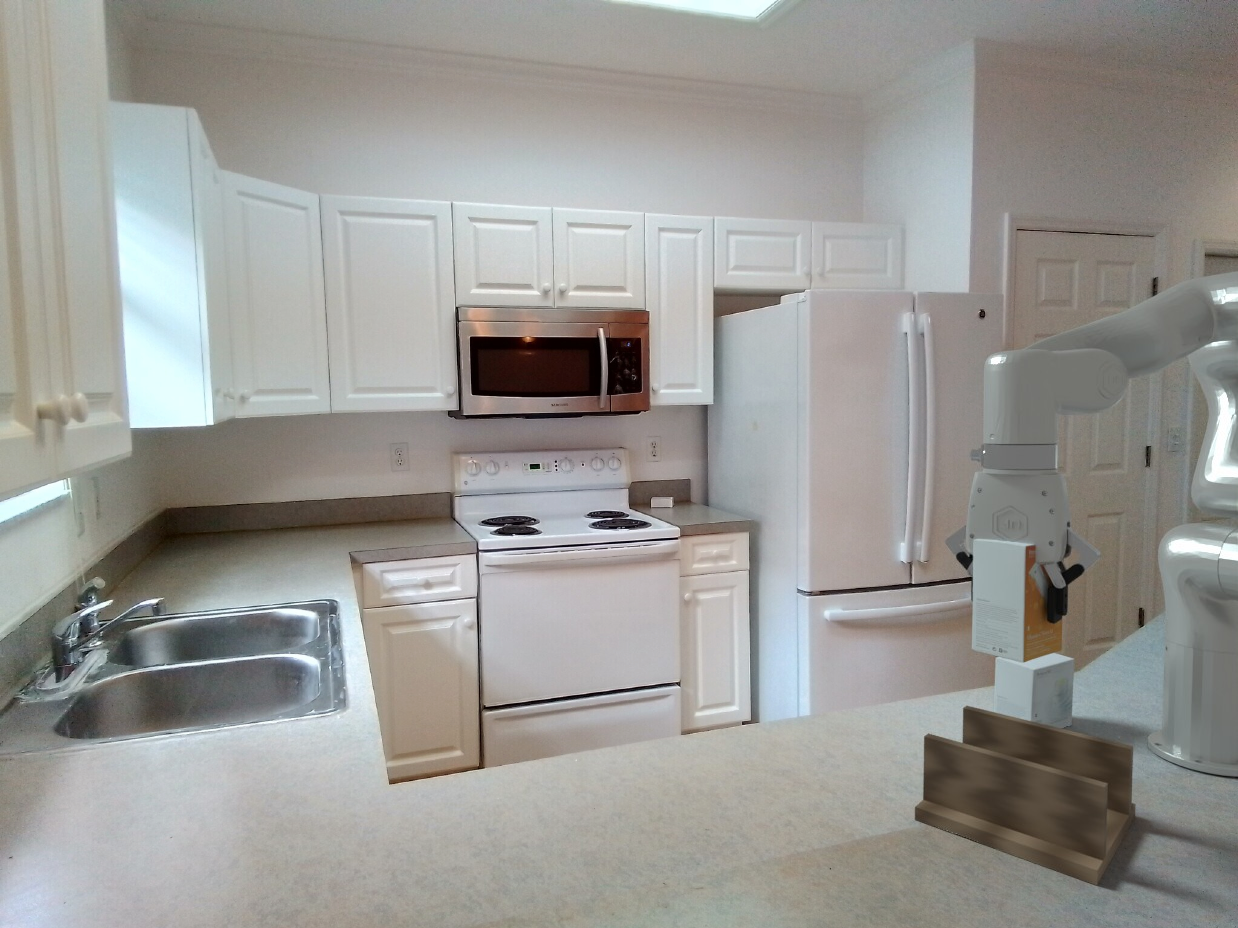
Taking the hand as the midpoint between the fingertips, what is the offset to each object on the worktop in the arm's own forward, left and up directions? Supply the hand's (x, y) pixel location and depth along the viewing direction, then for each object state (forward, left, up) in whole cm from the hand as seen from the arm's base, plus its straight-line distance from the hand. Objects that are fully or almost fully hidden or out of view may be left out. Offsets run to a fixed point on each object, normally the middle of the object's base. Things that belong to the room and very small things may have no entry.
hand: (1017, 613), depth 87 cm
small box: (0, 0, -5) cm, 5 cm away
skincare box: (-30, -6, -24) cm, 38 cm away
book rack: (0, +1, -23) cm, 23 cm away
